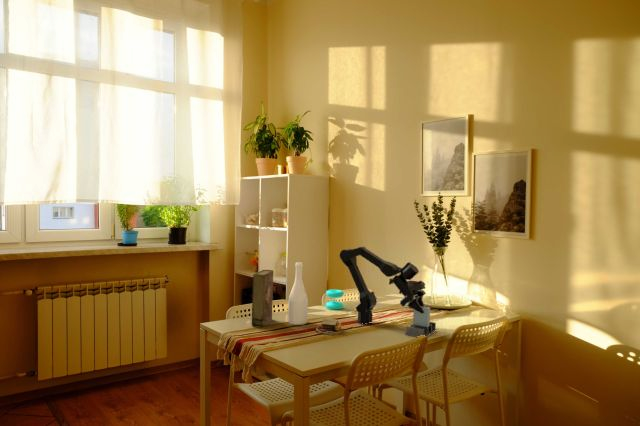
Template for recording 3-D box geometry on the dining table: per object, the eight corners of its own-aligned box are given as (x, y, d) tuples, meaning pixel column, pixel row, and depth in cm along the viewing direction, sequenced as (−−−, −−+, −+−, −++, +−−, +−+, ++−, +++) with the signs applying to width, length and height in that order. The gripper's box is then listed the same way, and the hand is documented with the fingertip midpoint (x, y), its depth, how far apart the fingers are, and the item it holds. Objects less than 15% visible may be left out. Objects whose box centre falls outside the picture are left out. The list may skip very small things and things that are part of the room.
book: (262, 318, 259) (263, 269, 259) (272, 319, 258) (274, 270, 257) (251, 326, 243) (253, 274, 242) (262, 327, 242) (264, 274, 241)
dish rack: (405, 335, 236) (405, 326, 236) (418, 327, 249) (418, 319, 249) (423, 338, 231) (424, 329, 231) (436, 331, 245) (436, 322, 245)
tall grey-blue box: (413, 325, 241) (413, 306, 240) (415, 323, 243) (416, 305, 243) (427, 327, 237) (427, 308, 237) (429, 326, 239) (430, 307, 239)
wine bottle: (304, 326, 247) (306, 264, 246) (285, 324, 248) (287, 263, 248) (308, 321, 256) (310, 262, 255) (290, 320, 258) (292, 261, 257)
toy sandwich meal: (312, 333, 234) (312, 323, 234) (321, 326, 247) (321, 317, 247) (337, 336, 230) (338, 326, 230) (346, 329, 243) (346, 319, 243)
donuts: (345, 289, 291) (341, 292, 282) (345, 307, 292) (340, 310, 282) (328, 288, 294) (324, 291, 285) (328, 305, 294) (323, 309, 285)
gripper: (407, 277, 234) (429, 305, 228) (422, 273, 249) (443, 298, 244) (391, 292, 238) (412, 319, 233) (406, 287, 254) (427, 312, 248)
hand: (424, 312), depth 239 cm, fingers closed on tall grey-blue box, 3 cm apart
